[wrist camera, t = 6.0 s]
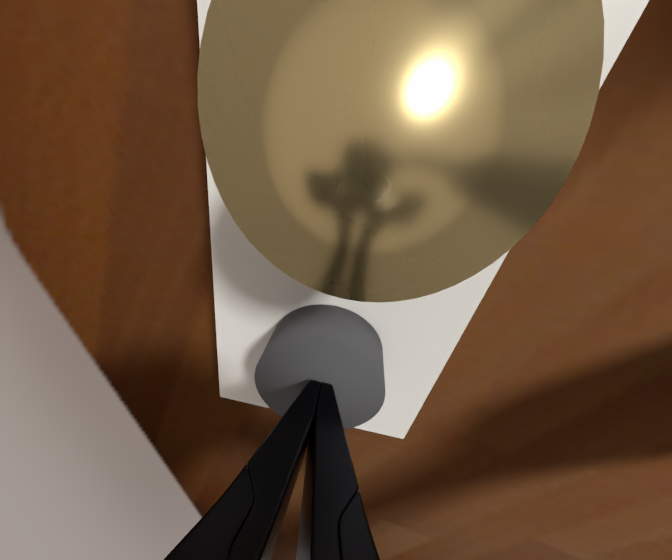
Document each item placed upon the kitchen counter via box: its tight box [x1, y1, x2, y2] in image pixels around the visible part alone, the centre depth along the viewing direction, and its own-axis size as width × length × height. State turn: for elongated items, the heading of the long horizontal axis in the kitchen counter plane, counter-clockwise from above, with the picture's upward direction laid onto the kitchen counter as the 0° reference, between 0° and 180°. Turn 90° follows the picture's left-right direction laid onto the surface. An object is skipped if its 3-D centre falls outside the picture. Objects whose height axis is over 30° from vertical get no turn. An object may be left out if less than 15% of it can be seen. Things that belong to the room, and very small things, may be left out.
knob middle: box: [197, 0, 604, 303], centre depth 5 cm, size 5×5×5 cm
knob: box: [254, 304, 385, 429], centre depth 11 cm, size 5×5×5 cm
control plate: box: [197, 0, 649, 439], centre depth 9 cm, size 26×10×3 cm, turn 169°
